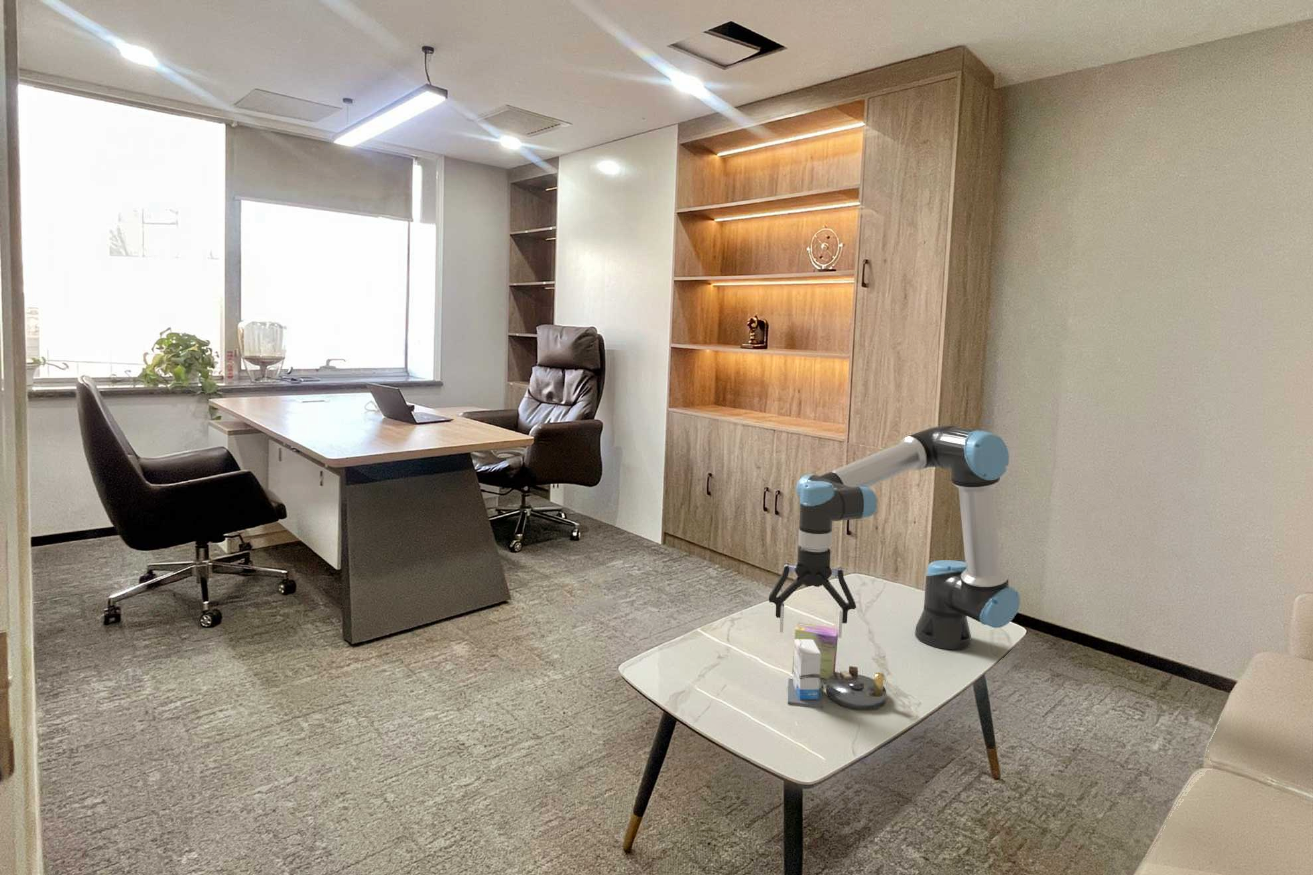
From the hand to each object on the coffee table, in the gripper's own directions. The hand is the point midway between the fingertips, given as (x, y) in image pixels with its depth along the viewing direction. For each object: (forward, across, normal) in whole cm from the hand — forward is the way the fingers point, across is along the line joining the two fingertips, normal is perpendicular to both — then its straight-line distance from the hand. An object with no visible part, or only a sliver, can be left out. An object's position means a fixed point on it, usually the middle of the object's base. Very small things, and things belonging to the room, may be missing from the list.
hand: (810, 632), depth 176 cm
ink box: (+15, +1, 0) cm, 15 cm away
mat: (+16, +1, 0) cm, 16 cm away
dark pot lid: (+16, -11, -2) cm, 19 cm away
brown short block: (+16, -11, -10) cm, 22 cm away
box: (+16, -2, -12) cm, 20 cm away
